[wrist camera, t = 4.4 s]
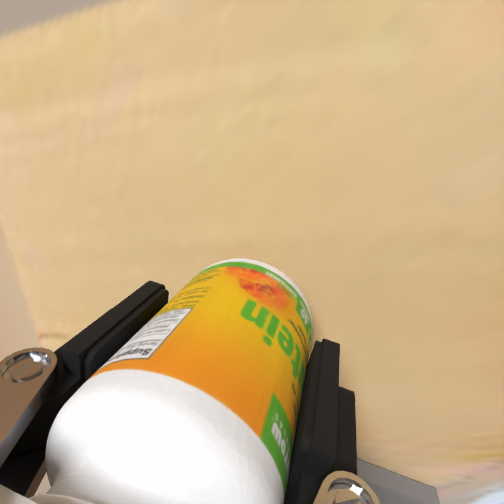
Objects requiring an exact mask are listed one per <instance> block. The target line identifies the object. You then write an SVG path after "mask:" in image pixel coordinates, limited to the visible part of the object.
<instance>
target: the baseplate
mask: <svg viewBox="0 0 504 504" xmlns="http://www.w3.org/2000/svg"><path fill="white" fill-rule="evenodd" d="M357 476H358V477H360V478H361V479H362V480H363V481H365V482H366V483H367V484H368V485H369V486H370V487H371V489H372V490H373V491H374V493H375V494H376V495H377V497H378V499H379V502H380V504H440V503H439V499H438V495H437V491H436V488H433V487H431V486H428V485H425V484H423V483H420V482H417V481H415V480H412V479H409V478H407V477H404V476H401V475H399V474H396V473H393V472H391V471H388V470H385V469H383V468H380V467H377V466H375V465H372V464H369V463H367V462H364V461H361V460H359V459H357Z"/></svg>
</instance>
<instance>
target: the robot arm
mask: <svg viewBox="0 0 504 504" xmlns="http://www.w3.org/2000/svg"><path fill="white" fill-rule="evenodd" d="M168 295H169V292H168V291H167V290H165V286H164V285H162V284H159V283H156V282H153V281H148V282H147V283H145V284H144V285H143V286H141V287H140V288H139V289H137V290H136V291H135V292H134V293H132V294H131V295H130V296H128V297H127V298H126V299H124V300H123V301H122V302H120V303H119V304H118V305H116V306H115V307H114V308H112V309H110V310H109V311H108V312H106V313H105V314H104V315H102V316H101V317H100V318H98V319H97V320H96V321H94V322H93V323H92V324H91V325H89V326H88V327H87V328H85V329H84V330H83V331H81V332H80V333H79V334H77V335H76V336H75V337H73V338H72V339H71V340H69V341H68V342H67V343H65V344H64V345H63V346H61V347H60V348H59V349H57V350H56V351H55V352H52V351H51V350H49V349H45V348H28V349H23V350H21V351H17V352H15V353H13V354H11V355H9V356H7V357H5V358H4V359H3V360H2V361H1V362H0V504H37V503H35V502H33V501H31V500H29V499H28V498H30V497H32V496H34V494H35V492H36V491H37V489H38V487H39V485H40V483H41V481H42V479H43V477H44V475H45V473H46V472H47V471H46V458H45V453H46V444H47V439H48V435H49V432H50V429H51V427H52V425H53V422H54V420H55V418H56V416H57V415H58V413H59V411H60V410H61V408H62V407H63V406H64V404H65V403H66V402H67V401H68V400H69V399H70V398H71V397H72V396H73V395H74V394H75V392H76V391H77V390H78V389H79V388H80V387H81V386H82V385H83V384H84V383H85V382H86V381H87V380H88V379H89V378H90V377H91V376H92V375H93V374H94V373H95V372H96V371H98V370H99V369H100V368H101V367H102V366H103V365H104V364H105V363H106V362H107V361H108V360H109V359H110V358H111V357H112V356H113V355H114V354H115V353H116V352H117V351H119V350H120V349H121V348H122V347H123V346H124V345H125V344H126V343H127V342H128V341H129V340H130V339H131V338H132V337H133V336H134V335H135V334H136V333H137V332H138V331H139V330H140V329H141V328H142V327H143V326H144V325H146V324H147V323H148V322H149V321H150V320H151V319H152V318H153V317H154V316H155V315H156V314H157V313H158V312H159V311H160V310H161V309H162V308H163V307H164V306H165V305H166V304H167V303H168ZM339 355H340V344H338V343H335V342H332V341H330V340H327V339H323V340H322V342H319V341H316V342H315V345H314V348H313V350H312V353H311V356H310V359H309V362H308V365H307V369H306V376H305V381H304V387H303V393H302V399H301V405H300V410H299V416H298V422H297V427H296V434H295V439H294V444H293V450H292V456H291V462H290V468H289V475H288V482H287V488H286V493H285V498H284V504H380V502H379V499H378V497H377V495H376V494H375V493H374V491H373V490H372V489H371V487H370V486H369V485H368V484H367V483H366V482H365V481H363V480H362V479H361V478H360V477H358V476H357V450H356V417H355V394H354V392H353V391H350V390H348V389H345V388H342V387H339Z"/></svg>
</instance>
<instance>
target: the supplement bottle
mask: <svg viewBox="0 0 504 504" xmlns="http://www.w3.org/2000/svg"><path fill="white" fill-rule="evenodd" d="M312 332H313V322H312V315H311V311H310V308H309V305H308V302H307V300H306V298H305V296H304V295H303V293H302V292H301V290H300V289H299V288H298V286H297V285H296V284H295V283H294V282H293V281H292V280H291V279H290V278H289V277H288V276H286V275H285V274H284V273H282V272H281V271H280V270H278V269H276V268H274V267H273V266H270V265H268V264H266V263H263V262H260V261H257V260H252V259H245V258H235V259H228V260H223V261H220V262H217V263H215V264H212V265H210V266H209V267H207V268H205V269H204V270H203V271H201V272H200V273H199V274H198V275H197V276H196V277H194V278H193V279H192V280H191V281H190V282H189V283H188V284H187V285H186V286H185V287H184V288H183V289H182V290H181V291H180V292H179V293H178V294H177V295H176V296H175V297H174V298H172V299H171V300H170V301H169V302H168V303H167V304H166V305H165V306H164V307H163V308H162V309H161V310H160V311H159V312H158V313H157V314H156V315H155V316H154V317H153V318H152V319H151V320H150V321H149V322H148V323H147V324H146V325H144V326H143V327H142V328H141V329H140V330H139V331H138V332H137V333H136V334H135V335H134V336H133V337H132V338H131V339H130V340H129V341H128V342H127V343H126V344H125V345H124V346H123V347H122V348H121V349H120V350H119V351H117V352H116V353H115V354H114V355H113V356H112V357H111V358H110V359H109V360H108V361H107V362H106V363H105V364H104V365H103V366H102V367H101V368H100V369H99V370H98V371H96V372H95V373H94V374H93V375H92V376H91V377H90V378H89V379H88V380H87V381H86V382H85V383H84V384H83V385H82V386H81V387H80V388H79V389H78V390H77V391H76V392H75V394H74V395H73V396H72V397H71V398H70V399H69V400H68V401H67V402H66V403H65V404H64V406H63V407H62V408H61V410H60V411H59V413H58V415H57V416H56V418H55V420H54V422H53V425H52V427H51V429H50V432H49V435H48V439H47V444H46V453H45V458H46V471H47V475H48V479H49V482H50V485H51V488H50V490H49V491H48V492H47V493H46V494H38V495H35V496H32V497H30V498H28V499H29V500H31V501H33V502H35V503H37V504H284V498H285V493H286V488H287V482H288V475H289V468H290V462H291V456H292V450H293V444H294V439H295V434H296V427H297V422H298V416H299V410H300V405H301V399H302V393H303V387H304V381H305V376H306V369H307V364H308V358H309V353H310V348H311V341H312Z"/></svg>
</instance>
